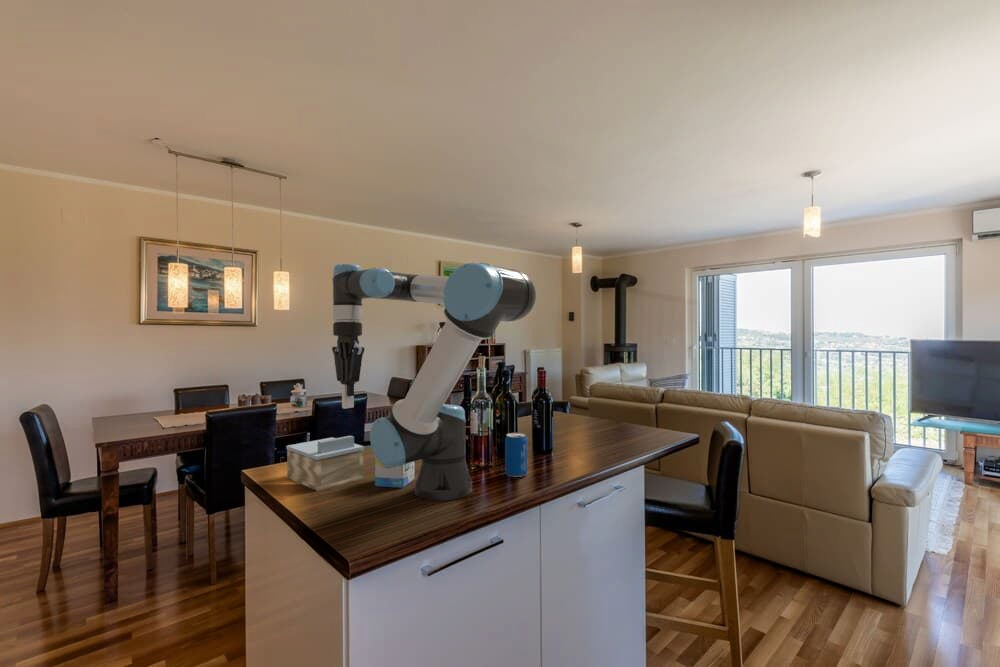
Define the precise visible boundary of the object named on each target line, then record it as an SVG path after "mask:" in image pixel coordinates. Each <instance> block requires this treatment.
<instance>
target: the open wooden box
mask: <svg viewBox="0 0 1000 667" xmlns="http://www.w3.org/2000/svg"><path fill="white" fill-rule="evenodd" d="M286 450H287V449H286ZM286 452H287V454H286V458H287V459H286V460H287V461H286V463H287V466H286V467H287V468H286V469H287V471H286V472H287V474H286V475H287V476H286V477H287V478H288V479H290V480H293V481H294V482H296V483H299V484H301V485H303V486H306V487H308V488H309V489H311V490H314V491H316V492H318V491H322V490H325V489H329V488H333V487H337V486H341V485H344V484H348V483H352V482H356V481H359V480H363V479H364V450H361V451H357V452H352V453H347V454H343V455H338V456H334V457H329V458H324V459H320V460H314V459H312V458H309V457H306V456H304V455H301V454H298V453H295V452H293V451H290V450H287V451H286Z"/></svg>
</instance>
